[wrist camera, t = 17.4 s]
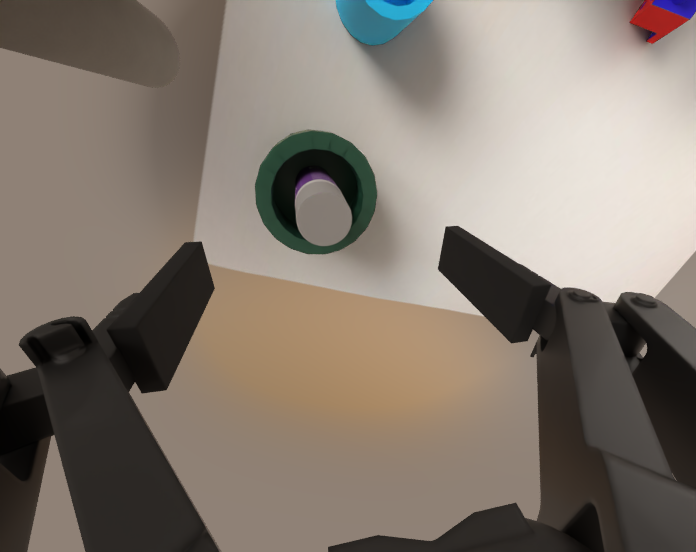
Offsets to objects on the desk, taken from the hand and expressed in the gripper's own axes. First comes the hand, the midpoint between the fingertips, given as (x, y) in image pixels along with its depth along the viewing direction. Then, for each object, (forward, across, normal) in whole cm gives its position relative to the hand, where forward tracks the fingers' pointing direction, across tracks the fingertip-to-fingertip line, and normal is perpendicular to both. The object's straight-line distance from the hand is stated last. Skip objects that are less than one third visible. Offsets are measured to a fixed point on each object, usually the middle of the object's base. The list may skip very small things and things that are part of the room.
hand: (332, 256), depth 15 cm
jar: (+24, 0, 0) cm, 24 cm away
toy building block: (+24, +41, +18) cm, 51 cm away
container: (+23, 0, 0) cm, 23 cm away
